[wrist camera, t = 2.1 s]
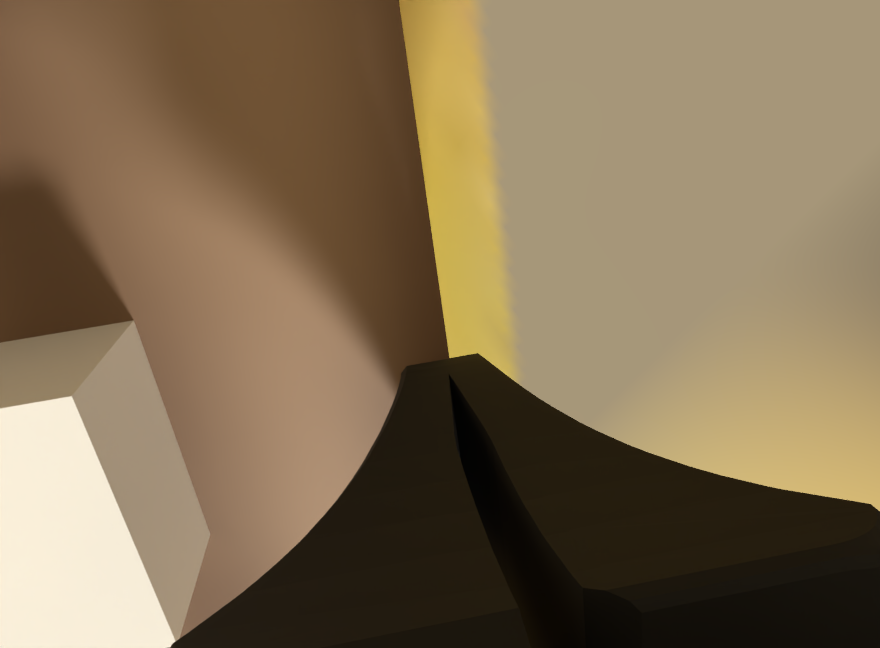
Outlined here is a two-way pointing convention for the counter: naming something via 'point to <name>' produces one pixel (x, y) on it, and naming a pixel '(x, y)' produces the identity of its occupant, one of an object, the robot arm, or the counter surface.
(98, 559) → the white tile
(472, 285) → the counter surface
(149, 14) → the walnut board
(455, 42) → the counter surface
